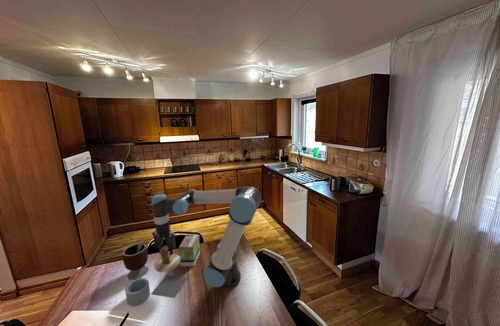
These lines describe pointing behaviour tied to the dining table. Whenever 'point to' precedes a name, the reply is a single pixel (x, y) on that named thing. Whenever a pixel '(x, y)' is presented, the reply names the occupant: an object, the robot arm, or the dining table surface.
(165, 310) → the dining table surface
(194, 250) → the tea box
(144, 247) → the mate gourd
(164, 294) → the mat
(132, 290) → the bowl
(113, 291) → the dining table surface
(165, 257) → the lid
